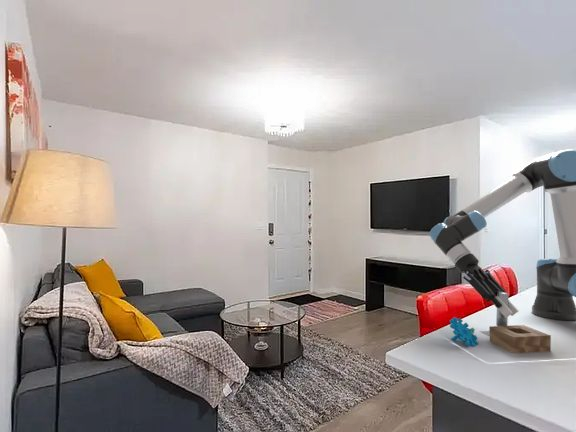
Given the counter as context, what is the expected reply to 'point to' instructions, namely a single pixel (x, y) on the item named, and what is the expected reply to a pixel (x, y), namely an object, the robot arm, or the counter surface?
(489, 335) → the mat
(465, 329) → the gear
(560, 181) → the robot arm
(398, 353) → the counter surface
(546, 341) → the hole block
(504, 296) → the peg
